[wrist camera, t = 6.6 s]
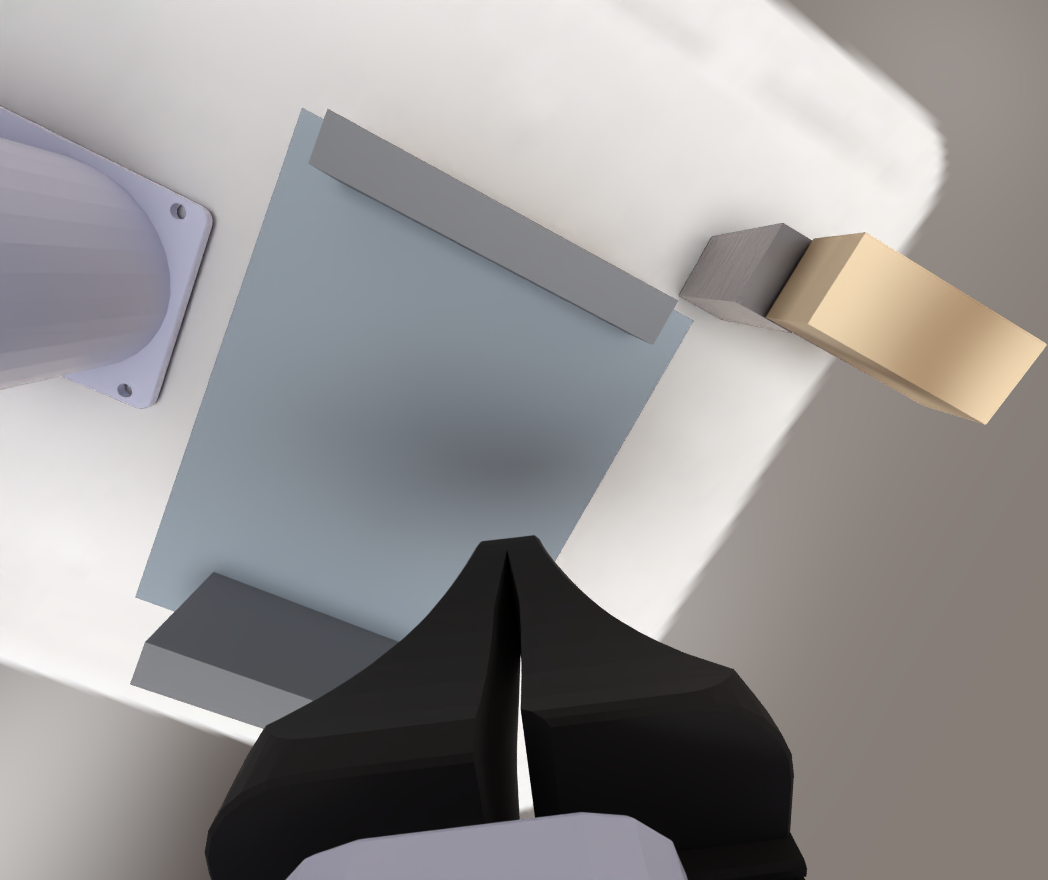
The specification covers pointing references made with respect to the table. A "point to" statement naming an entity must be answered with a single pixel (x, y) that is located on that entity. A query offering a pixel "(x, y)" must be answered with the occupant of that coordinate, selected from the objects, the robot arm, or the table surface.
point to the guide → (745, 273)
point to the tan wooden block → (904, 326)
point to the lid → (383, 421)
